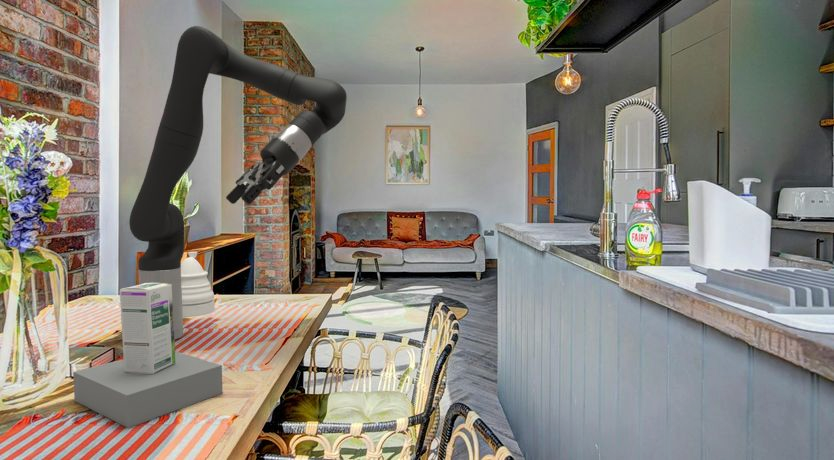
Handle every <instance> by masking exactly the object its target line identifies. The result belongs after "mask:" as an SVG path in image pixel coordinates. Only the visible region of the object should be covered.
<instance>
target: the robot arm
mask: <svg viewBox="0 0 834 460" xmlns="http://www.w3.org/2000/svg"><path fill="white" fill-rule="evenodd" d="M176 48H177V49H176V53H175V61H174V67H173V73H172V79H171V83H170V87H169V90H168V94H167V98H166V100H165V101H166V102H165V106H164V109H163V113H162V116H161V119H160V122H159V125H158V129H157V132H156V136H155V140H154V143H153V144H154V145H153V148H152V153H151V155H150V159H149V162H148V165H147V169H146V173H145V175H144V179H143V181H142V184H141V187H140V189H139V192H138V193H137V196H136V198H135V202H134V204H133V207H132V209H131V212H130V216H129V222H128V224H129V229H130V232H131V234H132V235H133V237H134V238H135V239H137V240H139V241H141V242H147V243H148V246H147V249H146V251H144V253H143V254H142V255H140V257H139V258H138V261H137V263H138V265H137V268H138V269H137V270H138V285H141V284H144V283H168V284H171V285H172V302H173V322H174V341H175V340H177V339H180V338H182V337H184V325H183V324H184V321H183V318H184V317H183V315H182V286H181V263H182V259H183V256H184V253H185V220H184V216H183V213H182V211H181V209H180V208H179V207H178V206H176V205H175V204H173V203H171V200H172V199H171V198H172V196H173V193H174V190H175V189H176V186H177V184H178V183H179V181H180V180H181V178H182V177H183V175H185V173H186V172H187V171H188V169H189V168H190V167H191V165H192V163H193V162H194V161H195V158H196V156H197V153H198V151H199V147H200V143H201V140H202V137H203V132H204V105H203V103H204V102H203V99H204V91H205V87H206V84H207V79H208V77H209V75H210V74H211V75H215V76H220V77H225V78H228V79H232V80H236V81H239V82H242V83H245V84H247V85H249V86H252V87H254V88H256V89H258V90H260V91H263V92H264V93H265V94H266V93H267V94H269V95H271V96H273V97H276V98H278V99H281V100H283V101H286V102H287V103H291V104H293V105H296V106H302V105H304V104H305V103H306V101H311V102H314V103H315V106H314V108H313V109H312V110H303V111H301V112H299V113H298V114H297V115H296V116H295V117H294V118H293V119H292V120H291V121H290V122H289V123H288V124H287V125H286V126H285V127H284V128H281V130H279V132H277V133H276V135H274V137H273V138H272V139H270V141H268V143H266V145H265V146H264V147H262V148H261V150H260V152H259V155H260V158H261V160H262V162H260V163H257V164H256V165H255V164H253V165H251V166H250V168H248V169H247V170H246V171H245V172H244V173H243V174H242V175H241V176H240V177H239V178H238V179H237V180H236V181H235V184H236V186H234V188H233V189H232V190H231V191H230V192H229V193H228V194H227V195H226V197H225V198H226V200H227V201H228V202H229V203H230V204H231V205H234V204H236V203H237V202H238V201H239V200H240V199H241V200H242V201H243V202H244V203H245V204H246V205H251V204H252V203H253V202H254V201H255V200H256V199H257V198H258V196H260V195H261V194H262V193H265V192H266V191H267V190H268V191H269V190H271V189H272V188H273V187H274V186H275V184H277V182H278V181H280V179H281V178H282V177H283V176H286V175H288V174H289V173H290V172H291V171H292V170H293V169H294V168H295V167H296V166H297V165H298V163H299V162H301V160H302V159H303V158H304V157H305V156H306V155H307V153H308V151H310V150H311V148H312V147H313V146H314V145H315V143H316V142H317V141H319V139H320V138H321V137H322V136H323V135H324V134H327V133H328V132H330V131H331V130H332V129H334V128H335V127H336V126H338V124H340V122H341V121H342V120H343V118H344V117H345V113H346V107H347V98H348V97H347V92H346V90H345V89H344V88H345V87H343V86H342V85H341V84H340V83H338V82H337V81H334V80H331V79H327V78H323V77H321V78H320V77H314V76H306V75H303V74H300V73H298V72H296V71H293V70H290V69H289V68H286V67H284V66H280V65H278V64H274V63H271V62H267V61H264V60H260V59H256V58H254V57H252V56H249V55H247V54H245V53H243V52H241V51H239V50H237V49H236V48H234V47H233V46H231V45H230V44H227V43H226V42H225V41H224V40H223V39H222V38H221V37H219V36H218V35H216V34H215V33H214V32H213V31H211V30H209V29H208V28H207V27H203V26H200V25H193V26H191V27H188V28H187V29H185V30H184V31H183V33H182V34H181V36H180V38H179V40H178V43H177V47H176ZM245 182H246V183H245Z"/></svg>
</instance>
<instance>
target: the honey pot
mask: <svg viewBox="0 0 834 460" xmlns="http://www.w3.org/2000/svg"><path fill="white" fill-rule="evenodd" d="M187 254H188V256H189V257H186V258H185V259H184V260H183V261H181V286H182V315H183V318H193V317H200V316H206V315H208V314H212V313H214V312H215V294H214V291H213V290H212V286H211V282H210V281H209V280H208V277H207V276H208V274H209V272H208V271H206V270H204V269H203V267H202V265H201V264H200V262H199V261H198V260H197V259H196V257H197V256H198V251H188V253H187Z"/></svg>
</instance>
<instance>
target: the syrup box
mask: <svg viewBox="0 0 834 460" xmlns="http://www.w3.org/2000/svg"><path fill="white" fill-rule="evenodd" d="M119 299H120V300H119V302H120V305H119V306H120V320H121V321H120V322H121V335H122V340H121V341H122V349H123V350H122V352H123V354H122V355H123V356H122V357H123V359H124V371H125V372H130V373H139V374H154V373H155V372H157V371H159V370H161V369H164V368H166V367H168V366H170V365H173V364H175V362H176V361H175V351H176V347H175V346H176V345H175V343H176V342H175V340H174V322H173V302H172V285H171V284H168V283H144V284H141V285H139V284H137V285H133V286H127V287H123V288H120V289H119Z"/></svg>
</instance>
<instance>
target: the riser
mask: <svg viewBox="0 0 834 460" xmlns="http://www.w3.org/2000/svg"><path fill="white" fill-rule="evenodd" d="M175 361H176V362H175V364H173V365H170V366H168V367H166V368H164V369H161V370H159V371H157V372H155V373H154V374H139V373H130V372H125V371H124V358H122V359H118V360H115V361H114V360H113V361H110V362H107V363H103V364H99V365H94V366H91V367H87V368H83V369H81V370H80V369H78V370H76V371H73V372H72V373H73V392H74V393H73V395H74V397H73V398H74V402H76V403H78V404H80V405H82V406H84V407H86V408H88V409H90V410H92V411H94V412H95V413H98V414H100V415H102V416H103V417H106V418H107V419H110V420H111V421H114V422H115V423H118V424H119V425H121V426H123V427H125V428H127V429H129V428H130V429H131V428H132V427H135V426H138V425H140V424H143V423H146V422H147V421H152V420H153V419H157V418H159V417H162V416H165V415H167V414H170V413H173V412H175V411H178V410H181V409H184V408H186V407H188V406H192V405H195V404H197V403H199V402H203V401H205V400H208V399H211V398H214V397H216V396H218V395H222V394H224V393H223V365H222V364H219V363H215V362H212V361H208V360H206V359H203V358H199V357H196V356H193V355H189V354H186V353H183V352H179V351H176V350H175ZM158 416H159V417H158ZM156 417H157V418H156Z"/></svg>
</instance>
